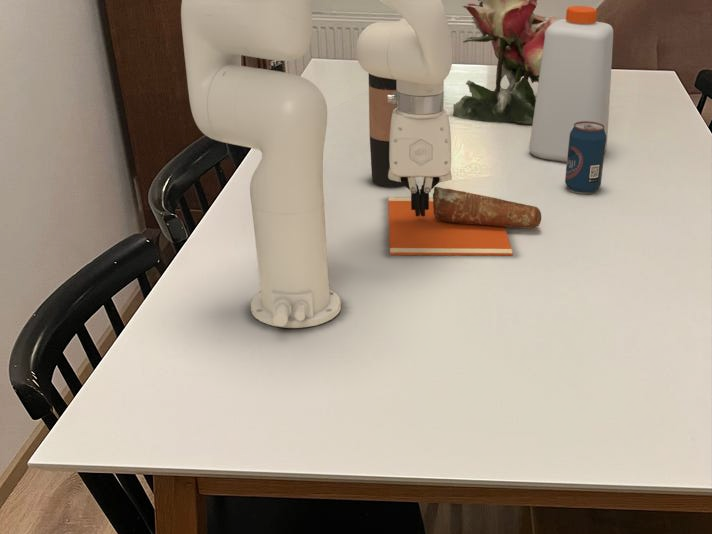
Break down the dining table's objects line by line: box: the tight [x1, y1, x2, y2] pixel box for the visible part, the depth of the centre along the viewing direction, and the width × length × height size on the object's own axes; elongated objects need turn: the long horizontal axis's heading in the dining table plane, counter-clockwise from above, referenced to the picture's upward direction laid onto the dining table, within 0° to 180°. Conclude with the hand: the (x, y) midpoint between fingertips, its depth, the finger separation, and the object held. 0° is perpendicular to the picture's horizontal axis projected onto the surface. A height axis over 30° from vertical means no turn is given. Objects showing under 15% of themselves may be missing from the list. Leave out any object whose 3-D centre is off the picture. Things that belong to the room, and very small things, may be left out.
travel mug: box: [368, 73, 405, 188], centre depth 172 cm, size 8×8×20 cm
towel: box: [388, 196, 514, 257], centre depth 161 cm, size 26×20×1 cm
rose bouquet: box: [452, 0, 562, 125], centre depth 216 cm, size 26×29×30 cm
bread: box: [432, 186, 542, 229], centre depth 159 cm, size 6×19×6 cm, turn 82°
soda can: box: [564, 121, 608, 195], centre depth 176 cm, size 7×7×12 cm
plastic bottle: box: [528, 5, 614, 163], centre depth 190 cm, size 15×15×28 cm
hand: (419, 213), depth 160 cm, fingers closed
